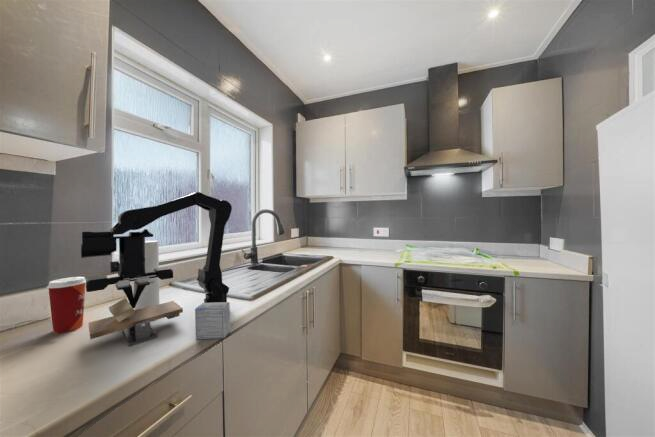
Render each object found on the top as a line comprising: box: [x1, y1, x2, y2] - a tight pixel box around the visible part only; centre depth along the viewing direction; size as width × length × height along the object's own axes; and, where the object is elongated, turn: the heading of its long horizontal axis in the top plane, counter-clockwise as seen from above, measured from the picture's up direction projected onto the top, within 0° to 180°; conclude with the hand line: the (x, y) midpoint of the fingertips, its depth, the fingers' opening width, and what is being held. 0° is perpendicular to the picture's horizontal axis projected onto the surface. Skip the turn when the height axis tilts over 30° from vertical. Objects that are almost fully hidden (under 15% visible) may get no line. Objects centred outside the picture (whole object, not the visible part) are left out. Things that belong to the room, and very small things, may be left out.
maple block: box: [108, 297, 135, 322], centre depth 65 cm, size 4×4×4 cm
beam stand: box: [122, 309, 158, 347], centre depth 68 cm, size 6×15×5 cm, turn 47°
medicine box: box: [194, 301, 231, 340], centre depth 66 cm, size 8×4×9 cm, turn 92°
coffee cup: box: [46, 276, 87, 334], centre depth 71 cm, size 8×8×15 cm
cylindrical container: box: [134, 240, 160, 310], centre depth 84 cm, size 7×7×25 cm
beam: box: [88, 300, 184, 340], centre depth 68 cm, size 20×10×3 cm, turn 137°
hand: (133, 307), depth 67 cm, fingers closed
